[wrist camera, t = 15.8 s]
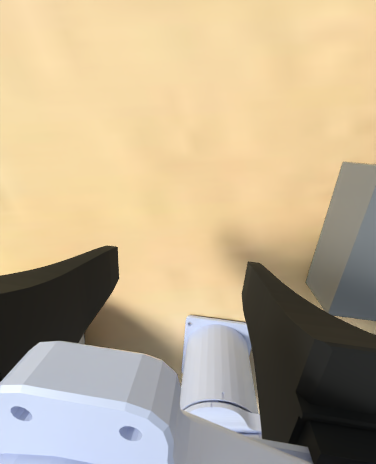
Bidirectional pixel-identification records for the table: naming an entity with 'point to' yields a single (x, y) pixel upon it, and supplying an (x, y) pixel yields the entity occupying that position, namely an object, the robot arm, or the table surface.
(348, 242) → the gray square knob slab
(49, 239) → the table surface
